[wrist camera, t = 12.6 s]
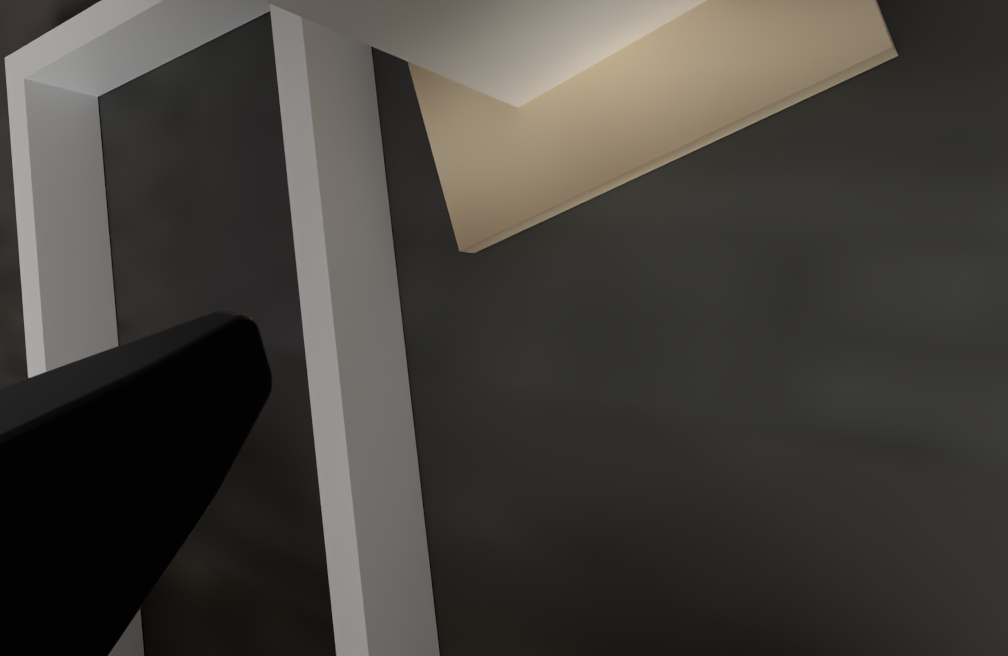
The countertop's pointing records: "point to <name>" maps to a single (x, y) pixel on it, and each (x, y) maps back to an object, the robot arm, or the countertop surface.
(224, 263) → the countertop surface
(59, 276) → the grey angled frame
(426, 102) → the pad
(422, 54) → the module
